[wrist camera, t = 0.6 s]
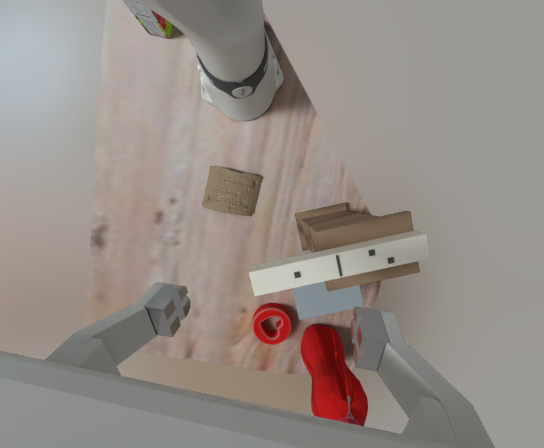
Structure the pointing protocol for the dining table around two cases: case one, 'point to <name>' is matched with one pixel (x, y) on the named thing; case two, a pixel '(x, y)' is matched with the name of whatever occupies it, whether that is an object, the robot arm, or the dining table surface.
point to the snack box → (150, 19)
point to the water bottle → (332, 378)
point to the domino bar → (339, 262)
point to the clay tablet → (232, 191)
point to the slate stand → (325, 300)
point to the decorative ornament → (282, 324)
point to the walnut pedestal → (352, 238)
